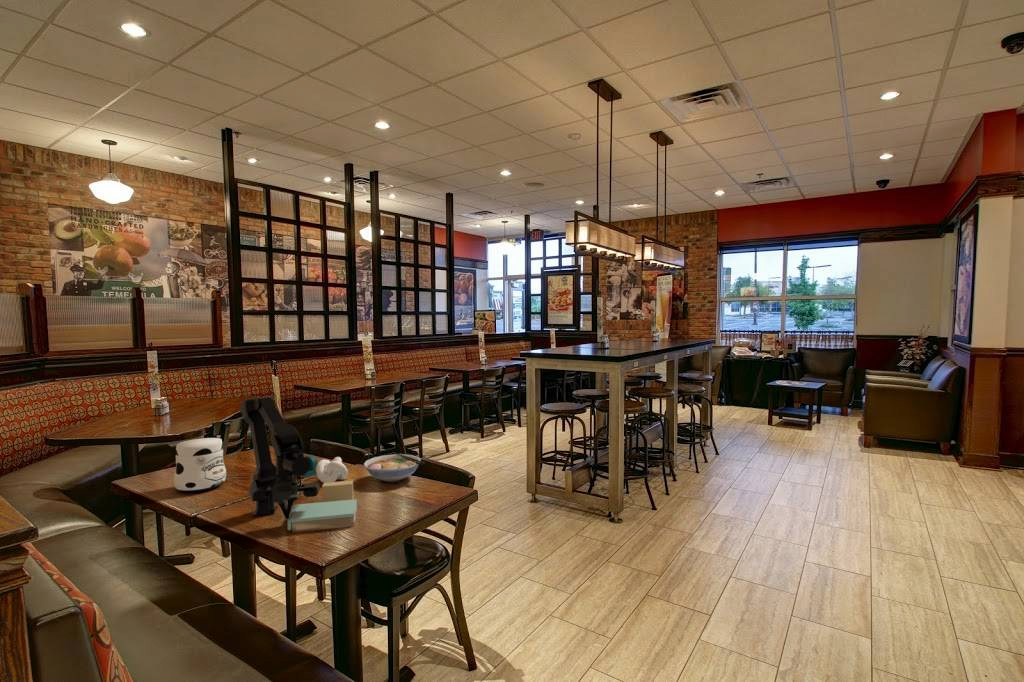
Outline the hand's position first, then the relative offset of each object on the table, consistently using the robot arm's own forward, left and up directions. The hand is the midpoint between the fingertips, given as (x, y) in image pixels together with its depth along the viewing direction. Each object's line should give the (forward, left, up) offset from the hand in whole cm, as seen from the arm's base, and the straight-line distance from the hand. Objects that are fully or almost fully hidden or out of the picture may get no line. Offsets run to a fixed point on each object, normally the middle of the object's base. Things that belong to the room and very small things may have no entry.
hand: (287, 518), depth 154 cm
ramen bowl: (-39, +33, -2) cm, 51 cm away
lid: (0, +11, -1) cm, 11 cm away
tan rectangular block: (-17, +14, -2) cm, 21 cm away
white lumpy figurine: (-44, +9, -2) cm, 44 cm away
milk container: (-48, -40, -2) cm, 62 cm away
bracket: (-59, -7, -2) cm, 59 cm away
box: (0, +12, -2) cm, 12 cm away
